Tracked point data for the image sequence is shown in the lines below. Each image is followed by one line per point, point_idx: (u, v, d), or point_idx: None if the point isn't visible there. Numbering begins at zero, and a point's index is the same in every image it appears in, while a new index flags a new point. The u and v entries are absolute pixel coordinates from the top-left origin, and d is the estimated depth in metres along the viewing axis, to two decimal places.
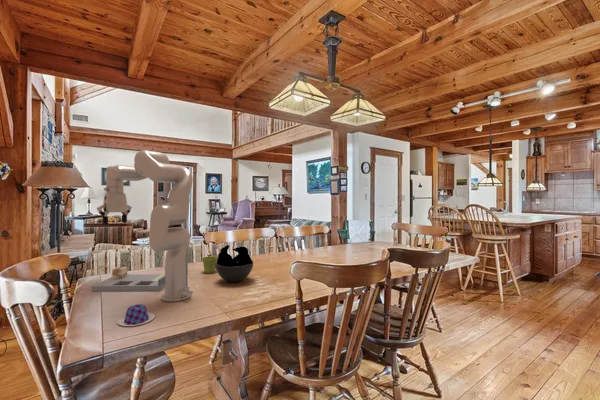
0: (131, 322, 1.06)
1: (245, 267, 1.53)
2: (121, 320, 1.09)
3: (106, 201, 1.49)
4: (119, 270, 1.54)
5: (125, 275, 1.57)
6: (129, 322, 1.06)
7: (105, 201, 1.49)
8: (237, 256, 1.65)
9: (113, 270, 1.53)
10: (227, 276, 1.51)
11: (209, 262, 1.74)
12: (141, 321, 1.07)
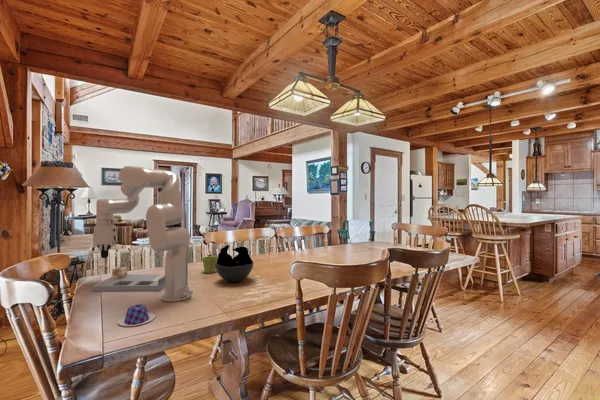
0: (131, 322, 1.06)
1: (245, 267, 1.53)
2: (121, 320, 1.09)
3: (115, 233, 1.57)
4: (119, 270, 1.54)
5: (125, 275, 1.57)
6: (129, 322, 1.06)
7: (114, 233, 1.56)
8: (237, 256, 1.65)
9: (113, 270, 1.53)
10: (227, 276, 1.51)
11: (209, 262, 1.74)
12: (141, 321, 1.07)
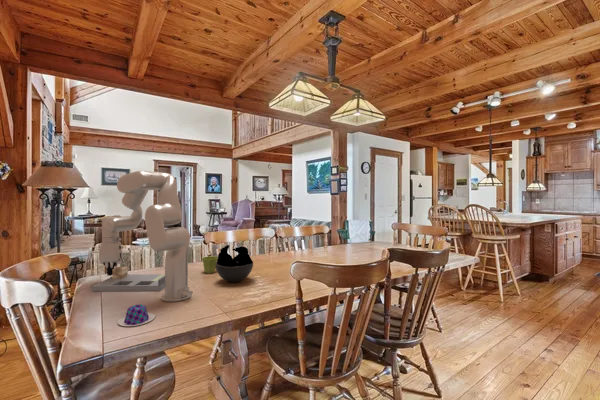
0: (131, 322, 1.06)
1: (245, 267, 1.53)
2: (121, 320, 1.09)
3: (121, 250, 1.57)
4: (119, 270, 1.54)
5: (125, 275, 1.57)
6: (129, 322, 1.06)
7: (120, 250, 1.56)
8: (237, 256, 1.65)
9: (113, 270, 1.53)
10: (227, 276, 1.51)
11: (209, 262, 1.74)
12: (141, 321, 1.07)
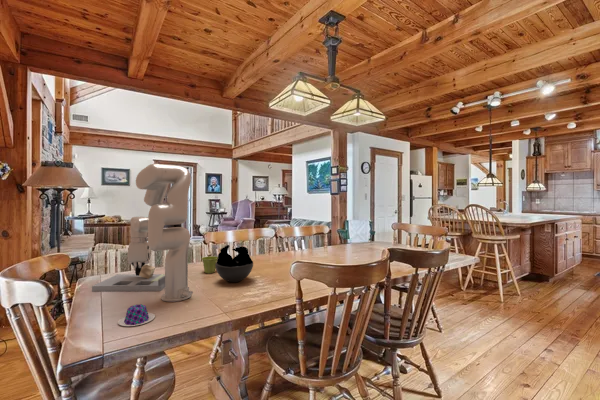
0: (130, 322, 1.06)
1: (245, 267, 1.53)
2: (122, 319, 1.09)
3: (149, 250, 1.58)
4: (148, 270, 1.54)
5: (151, 275, 1.57)
6: (128, 322, 1.06)
7: (148, 250, 1.57)
8: (237, 256, 1.65)
9: (142, 268, 1.54)
10: (227, 276, 1.51)
11: (209, 262, 1.74)
12: (140, 321, 1.07)
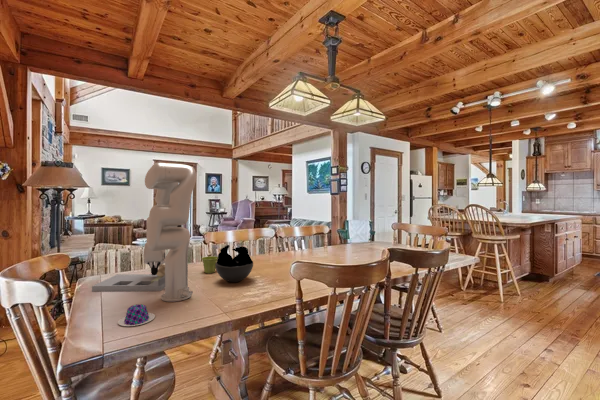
0: (129, 322, 1.06)
1: (245, 267, 1.53)
2: (122, 319, 1.09)
3: (164, 250, 1.58)
4: None
5: None
6: (128, 322, 1.06)
7: (164, 250, 1.57)
8: (237, 256, 1.65)
9: (160, 267, 1.56)
10: (227, 276, 1.51)
11: (209, 262, 1.74)
12: (139, 322, 1.07)
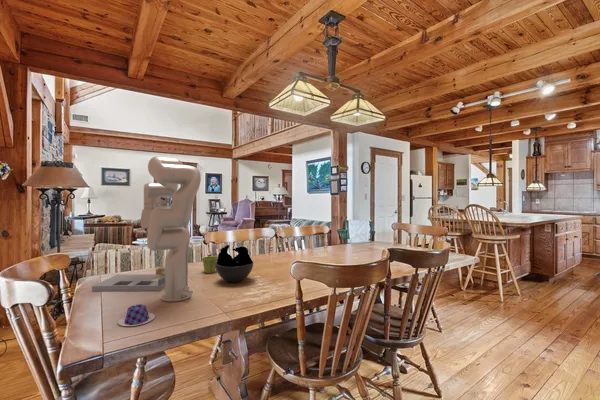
0: (129, 322, 1.06)
1: (245, 267, 1.53)
2: (123, 319, 1.10)
3: None
4: (163, 269, 1.56)
5: None
6: (127, 322, 1.06)
7: None
8: (237, 256, 1.65)
9: (157, 270, 1.55)
10: (227, 276, 1.51)
11: (209, 262, 1.74)
12: (138, 322, 1.06)
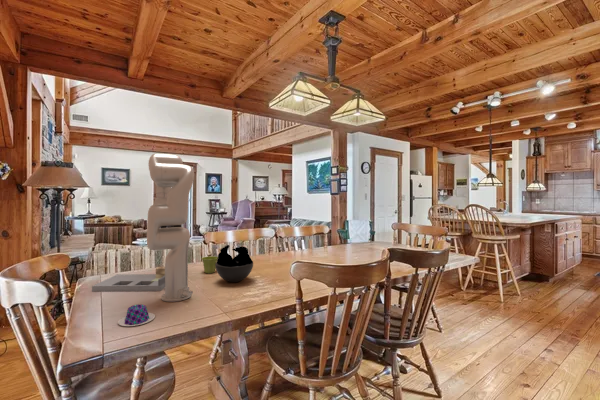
0: (128, 322, 1.06)
1: (245, 267, 1.53)
2: (124, 318, 1.10)
3: None
4: (163, 269, 1.56)
5: None
6: (127, 322, 1.06)
7: None
8: (237, 256, 1.65)
9: (157, 270, 1.55)
10: (227, 276, 1.51)
11: (209, 262, 1.74)
12: (138, 322, 1.06)
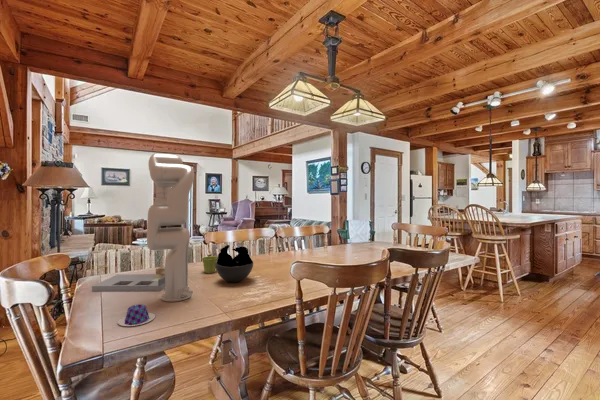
0: (128, 322, 1.06)
1: (245, 267, 1.53)
2: (124, 318, 1.10)
3: None
4: (163, 269, 1.56)
5: None
6: (127, 322, 1.06)
7: None
8: (237, 256, 1.65)
9: (157, 270, 1.55)
10: (227, 276, 1.51)
11: (209, 262, 1.74)
12: (137, 322, 1.06)
